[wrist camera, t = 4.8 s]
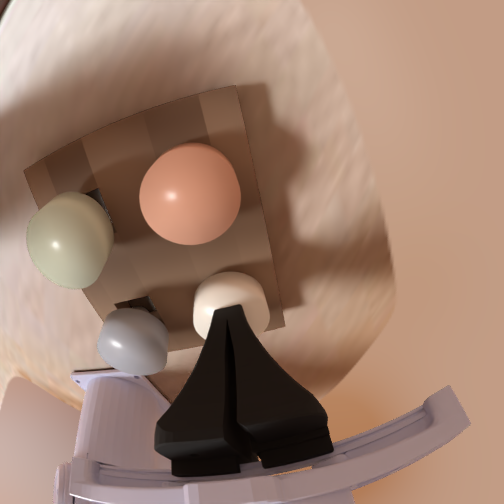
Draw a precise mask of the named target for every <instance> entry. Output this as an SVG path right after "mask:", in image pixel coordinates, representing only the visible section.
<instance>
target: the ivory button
mask: <svg viewBox="0 0 504 504" xmlns="http://www.w3.org/2000/svg"><path fill="white" fill-rule="evenodd" d="M237 304H240V305H242V307H243V310H244V313H245V316H246V319H247V321H248V323H249V325H250V327H251V329H252V330H253V332H254V334H255V335H256V337H258V336H260V335H261V334H262V333H263V332H264V331H265V329H266V328H267V326H268V324H269V320H270V313H269V309H268V306H267V302H266V298H265V295H264V291H263V288H262V287H261V285H260V284H259V282H258V281H257V280H256V279H254V278H253V277H251V276H249V275H247V274H244V273H240V272H222V273H218V274H215V275H213V276H210V277H209V278H207V279H206V280H204V281H203V282H202V283H201V284H200V285H199V286H198V288H197V290H196V292H195V295H194V312H193V323H194V327H195V330H196V331H197V333H198V334H199V335H200V336H201V337H202V338H204V339H205V340H206V337H207V334H208V331H209V328H210V324H211V320H212V316H213V312H214V310H216V309H221V308H225V307H229V306H233V305H237Z"/></svg>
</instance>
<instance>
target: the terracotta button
mask: <svg viewBox="0 0 504 504" xmlns="http://www.w3.org/2000/svg"><path fill="white" fill-rule="evenodd" d="M139 199H140V207H141V211H142V214H143V216H144V218H145V220H146V222H147V223H148V225H149V226H150V227H151V228H152V229H153V230H154V231H155V232H156V233H157V234H158V235H160V236H161V237H163V238H165V239H166V240H169V241H171V242H174V243H177V244H183V245H198V244H203V243H206V242H209V241H212V240H214V239H216V238H217V237H219V236H221V235H222V234H223V233H224V232H225V231H226V230H227V229H228V228H229V227H230V226H231V225H232V223H233V222H234V220H235V219H236V217H237V214H238V212H239V208H240V202H241V192H240V186H239V183H238V180H237V177H236V174H235V171H234V168H233V166H232V164H231V163H230V161H229V160H228V159H227V158H226V156H225V155H224V154H222V153H221V152H220V151H219V150H217V149H216V148H214V147H211V146H209V145H206V144H202V143H192V142H191V143H184V144H179V145H177V146H174V147H172V148H170V149H168V150H167V151H166V152H164V153H163V154H162V155H161V156H160V157H159V158H158V159H157V160H156V161H155V162H154V164H153V165H152V166H151V167H150V169H149V170H148V171H147V173H146V175H145V176H144V178H143V181H142V184H141V188H140V195H139Z"/></svg>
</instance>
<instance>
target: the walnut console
mask: <svg viewBox="0 0 504 504" xmlns="http://www.w3.org/2000/svg"><path fill="white" fill-rule="evenodd" d="M191 142H192V143H202V144H206V145H209V146H211V147H214V148H216V149H217V150H219V151H220V152H221V153H222V154H224V155H225V156H226V158H227V159H228V160H229V161H230V163H231V164H232V166H233V168H234V171H235V174H236V177H237V180H238V183H239V186H240V192H241V202H240V208H239V212H238V214H237V217H236V219H235V220H234V222H233V223H232V225H231V226H230V227H229V228H228V229H227V230H226V231H225V232H224V233H223V234H222V235H221V236H219V237H217V238H216V239H214V240H212V241H209V242H206V243H203V244H198V245H183V244H177V243H174V242H171V241H169V240H166V239H165V238H163V237H161V236H160V235H158V234H157V233H156V232H155V231H154V230H153V229H152V228H151V227H150V226H149V225H148V223H147V222H146V220H145V218H144V216H143V214H142V211H141V207H140V199H139V195H140V188H141V184H142V181H143V178H144V176H145V175H146V173H147V171H148V170H149V169H150V167H151V166H152V165H153V164H154V162H155V161H156V160H157V159H158V158H159V157H160V156H161V155H162V154H163V153H164V152H166V151H167V150H168V149H170V148H172V147H174V146H177V145H179V144H184V143H191ZM24 173H25V176H26V179H27V181H28V184H29V187H30V189H31V192H32V194H33V197H34V199H35V201H36V204H37V206H38V208H39V210H40V209H41V208H43V207H44V206H45V205H46V204H47V203H49V202H50V201H51V200H52V199H53V198H55V197H56V196H58V195H59V194H62V193H65V192H79V193H83V194H85V193H88V192H90V191H93V190H95V189H97V188H99V191H100V193H101V196H102V198H103V201H104V203H105V205H106V208H107V210H108V213H109V215H110V217H111V220H112V222H113V224H112V227H113V231H114V245H113V249H112V251H111V254H110V256H109V257H108V259H107V261H106V263H105V265H104V267H103V269H102V271H101V273H100V275H99V277H98V279H97V280H96V281H95V282H94V283H93V284H91V285H90V286H88V287H86V288H82V291H83V292H84V294H85V295H86V297H87V299H88V300H89V302H90V303H91V305H92V306H93V308H94V309H95V311H96V312H97V313H98V315H99V316H100V318H101V319H102V321H103V322H104V320H105V318H106V316H107V315H108V314H109V313H111V312H112V311H114V310H117V309H122V308H131V306H130V305H129V303H128V300H132V299H137V298H141V297H145V296H149V297H150V299H151V300H152V302H153V304H154V306H155V308H156V309H157V310H156V311H151V312H149V314H151V315H153V316H155V317H156V318H158V319H159V320H160V321H161V322H162V323H163V324H164V325H165V327H166V329H167V331H168V334H169V341H168V352H171V351H176V350H182V349H188V348H193V347H198V346H203V345H204V343H205V339H204V338H202V337H201V336H200V335H199V334H198V333H197V331H196V330H195V327H194V323H193V312H194V295H195V292H196V290H197V288H198V286H199V285H200V284H201V283H202V282H203V281H204V280H206V279H207V278H209V277H210V276H213V275H215V274H218V273H222V272H240V273H245V274H247V275H249V276H251V277H253V278H254V279H256V280H257V281H258V282H259V284H260V285H261V287H262V288H263V291H264V295H265V298H266V302H267V306H268V309H269V313H270V320H269V324H268V326H267V328H266V329H265V331H264V332H266V331H270V330H274V329H277V328H281V327H285V321H284V316H283V311H282V305H281V300H280V295H279V289H278V284H277V279H276V274H275V268H274V263H273V258H272V253H271V248H270V243H269V238H268V233H267V228H266V223H265V218H264V213H263V209H262V204H261V199H260V194H259V189H258V185H257V180H256V175H255V170H254V166H253V161H252V157H251V152H250V147H249V143H248V138H247V134H246V129H245V125H244V120H243V116H242V111H241V107H240V103H239V98H238V94H237V90H236V85H233V86H228V87H224V88H220V89H215V90H211V91H207V92H203V93H199V94H196V95H192V96H188V97H185V98H182V99H178V100H175V101H172V102H169V103H165V104H162V105H159V106H156V107H154V108H151V109H148V110H145V111H142V112H140V113H137V114H134V115H132V116H129V117H127V118H124V119H122V120H119V121H117V122H114V123H112V124H110V125H107V126H105V127H103V128H101V129H99V130H96V131H94V132H92V133H90V134H88V135H86V136H84V137H82V138H80V139H78V140H76V141H74V142H72V143H70V144H68V145H66V146H64V147H62V148H61V149H59V150H57V151H55V152H53V153H52V154H50V155H48V156H46V157H45V158H43V159H41V160H40V161H38V162H36V163H35V164H33V165H32V166H30V167H28V168H27V169H25V170H24Z"/></svg>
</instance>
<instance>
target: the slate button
mask: <svg viewBox="0 0 504 504" xmlns="http://www.w3.org/2000/svg"><path fill="white" fill-rule="evenodd" d="M168 341H169V334H168V331H167V329H166V327H165V325H164V324H163V323H162V322H161V321H160V320H159V319H158V318H156V317H155V316H153V315H151V314H149V311H148V310H147V309H146V308H144V307H141V306H135V307H133V308H122V309H117V310H114V311H112V312H111V313H109V314H108V315H107V316H106V318H105V320H104V323H103V326H102V329H101V332H100V336H99V339H98V342H97V349H98V352H99V354H100V356H101V357H102V358H103V360H104V361H105V362H107V363H108V364H109V365H110V366H112V367H114V368H115V369H117V370H119V371H122V372H125V373H128V374H132V375H152V374H155V373H158V372H159V371H161V370H162V369H163V368H164V367H165V366H166V363H167V352H168Z"/></svg>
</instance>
